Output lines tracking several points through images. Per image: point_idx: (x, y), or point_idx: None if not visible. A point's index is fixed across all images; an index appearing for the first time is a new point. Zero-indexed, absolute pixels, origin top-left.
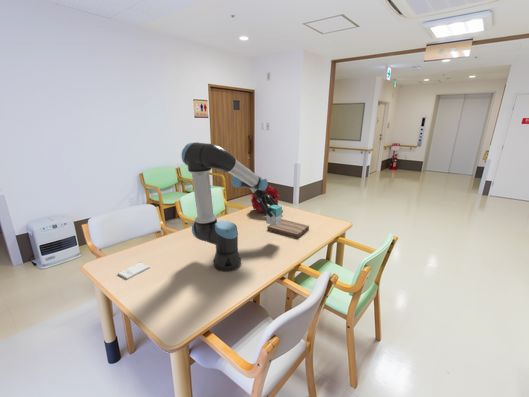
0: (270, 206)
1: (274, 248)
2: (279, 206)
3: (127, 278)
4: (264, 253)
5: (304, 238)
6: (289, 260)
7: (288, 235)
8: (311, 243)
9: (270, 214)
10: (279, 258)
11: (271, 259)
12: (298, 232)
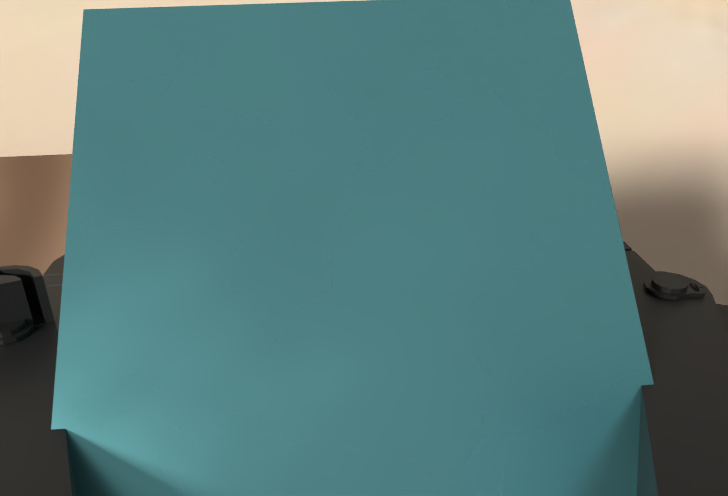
0: (464, 393)
1: None
2: (177, 69)
3: None
4: (693, 278)
5: (52, 117)
6: (605, 17)
7: None
8: (139, 7)
9: (630, 251)
10: (648, 102)
11: (723, 150)
12: (13, 174)
